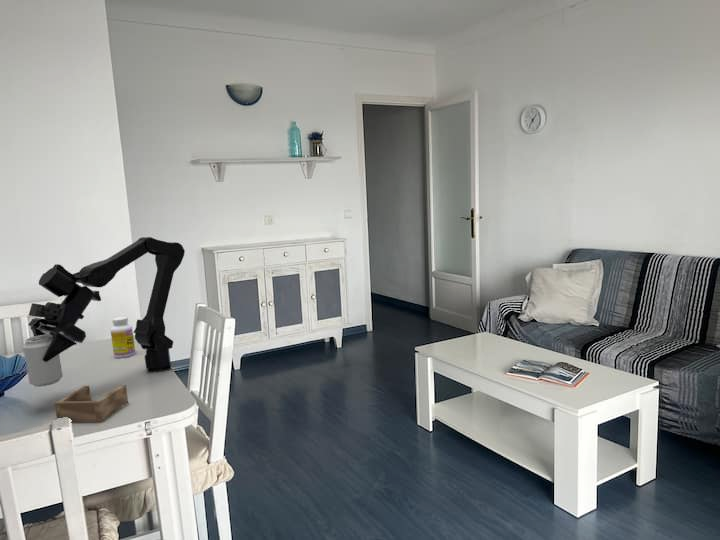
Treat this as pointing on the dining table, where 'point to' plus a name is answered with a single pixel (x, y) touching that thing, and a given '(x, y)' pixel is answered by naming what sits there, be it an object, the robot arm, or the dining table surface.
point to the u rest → (90, 405)
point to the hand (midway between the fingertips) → (36, 359)
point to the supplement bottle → (122, 338)
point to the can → (41, 361)
